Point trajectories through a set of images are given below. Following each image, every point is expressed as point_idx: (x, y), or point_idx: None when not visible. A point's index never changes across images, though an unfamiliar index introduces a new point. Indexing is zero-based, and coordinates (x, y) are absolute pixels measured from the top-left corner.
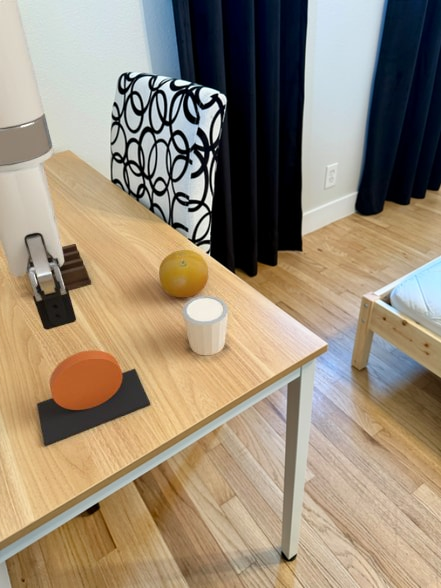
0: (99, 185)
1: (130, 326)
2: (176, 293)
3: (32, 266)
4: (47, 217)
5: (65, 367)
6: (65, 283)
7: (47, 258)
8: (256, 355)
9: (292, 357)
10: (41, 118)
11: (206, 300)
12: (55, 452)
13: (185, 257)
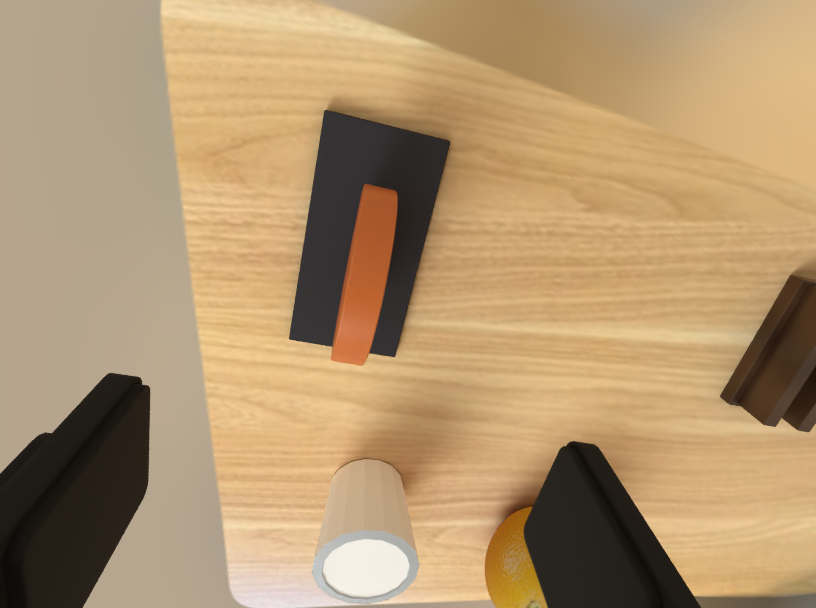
0: None
1: (521, 401)
2: (512, 522)
3: (592, 512)
4: None
5: (356, 264)
6: (770, 356)
7: (570, 598)
8: (279, 530)
9: (237, 566)
10: None
11: (391, 582)
12: (297, 123)
13: None
